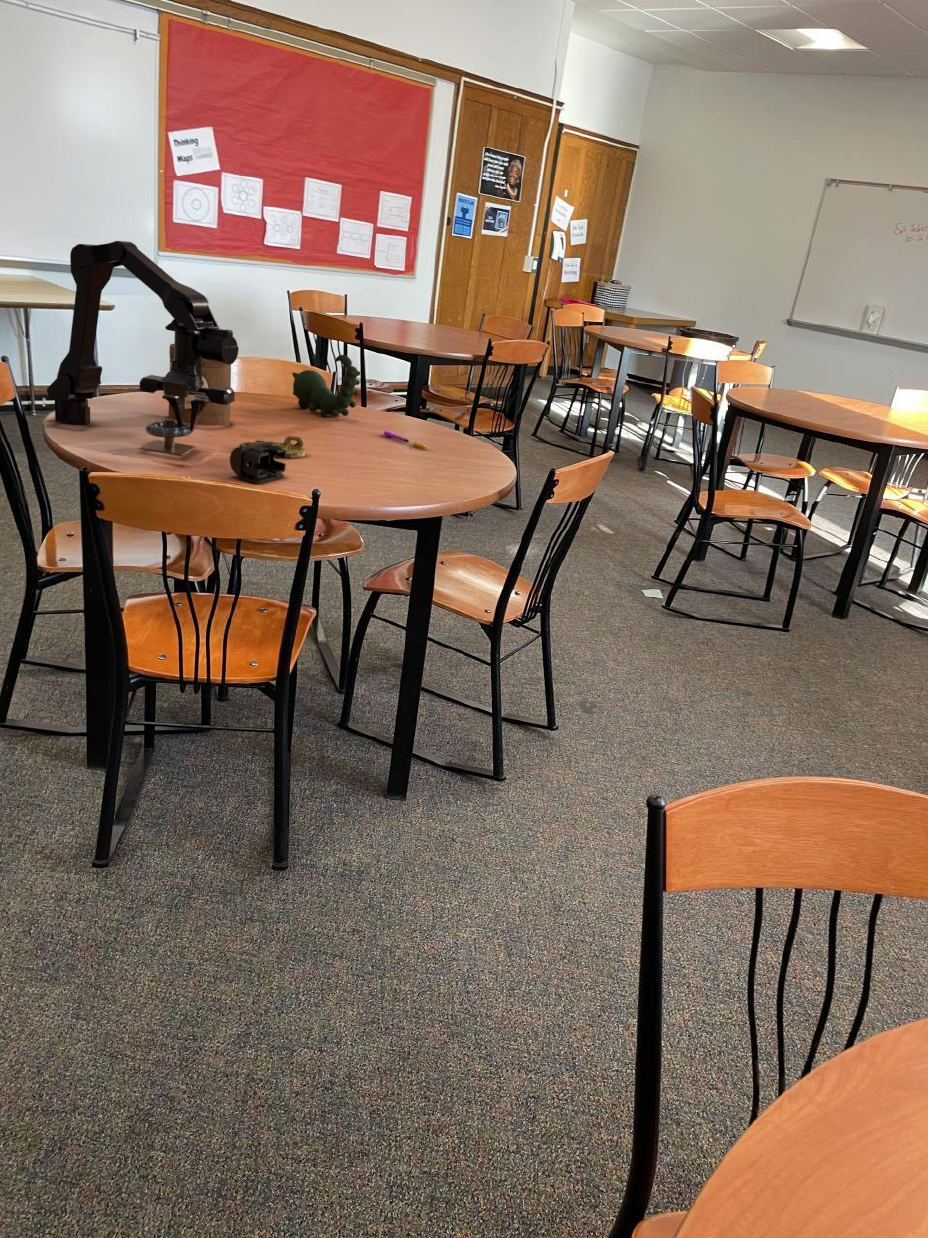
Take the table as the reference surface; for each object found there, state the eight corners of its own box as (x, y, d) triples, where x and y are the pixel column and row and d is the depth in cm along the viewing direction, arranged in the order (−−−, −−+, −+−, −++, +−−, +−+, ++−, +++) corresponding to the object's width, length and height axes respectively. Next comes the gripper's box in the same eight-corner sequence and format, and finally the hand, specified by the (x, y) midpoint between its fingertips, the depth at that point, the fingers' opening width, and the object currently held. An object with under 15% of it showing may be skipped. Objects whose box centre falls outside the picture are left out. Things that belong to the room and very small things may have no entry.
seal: (239, 459, 202) (306, 463, 207) (240, 439, 200) (308, 444, 204) (238, 445, 210) (302, 449, 214) (239, 425, 208) (304, 430, 212)
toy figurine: (359, 427, 256) (300, 400, 268) (370, 360, 248) (309, 336, 260) (335, 429, 249) (276, 401, 261) (346, 360, 241) (284, 335, 253)
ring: (139, 436, 190) (138, 426, 189) (156, 427, 198) (156, 418, 198) (183, 439, 189) (182, 430, 188) (199, 431, 198) (198, 422, 197)
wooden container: (155, 417, 223) (156, 325, 215) (202, 413, 235) (204, 326, 227) (196, 431, 217) (199, 337, 208) (242, 426, 228) (246, 337, 220)
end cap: (259, 469, 193) (261, 438, 191) (286, 477, 191) (288, 445, 188) (228, 476, 185) (229, 444, 182) (255, 484, 182) (257, 452, 179)
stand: (140, 453, 191) (140, 419, 188) (156, 444, 200) (157, 412, 197) (181, 460, 191) (182, 426, 188) (196, 451, 199) (197, 419, 197)
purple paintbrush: (382, 434, 242) (424, 449, 233) (383, 430, 242) (426, 445, 233) (389, 436, 244) (431, 451, 235) (390, 431, 244) (432, 447, 235)
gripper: (128, 352, 180) (128, 430, 186) (219, 367, 180) (216, 444, 186) (150, 347, 190) (149, 420, 196) (237, 361, 190) (233, 434, 196)
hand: (186, 430), depth 193 cm, fingers closed on ring, 2 cm apart
